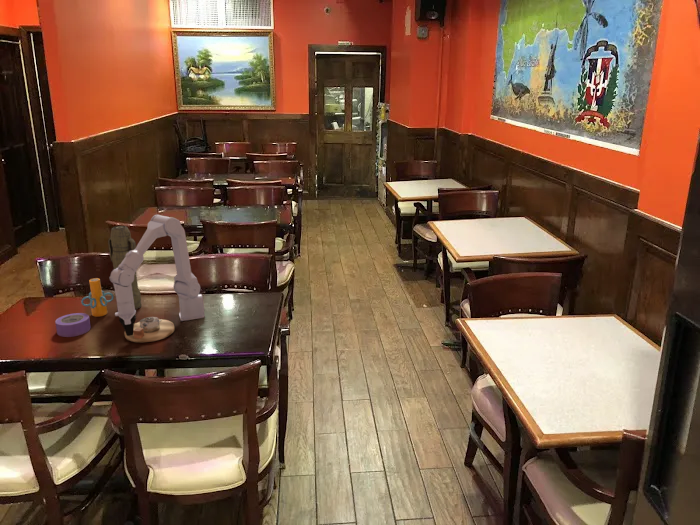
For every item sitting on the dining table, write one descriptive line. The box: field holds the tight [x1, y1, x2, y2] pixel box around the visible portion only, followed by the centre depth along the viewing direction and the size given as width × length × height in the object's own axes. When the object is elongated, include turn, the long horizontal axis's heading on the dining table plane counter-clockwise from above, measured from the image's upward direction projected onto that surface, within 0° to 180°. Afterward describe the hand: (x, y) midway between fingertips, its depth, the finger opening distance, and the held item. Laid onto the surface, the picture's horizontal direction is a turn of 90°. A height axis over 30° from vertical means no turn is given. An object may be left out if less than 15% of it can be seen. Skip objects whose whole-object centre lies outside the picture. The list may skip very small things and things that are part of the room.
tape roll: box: [54, 312, 92, 338], centre depth 217 cm, size 12×12×5 cm
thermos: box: [107, 225, 142, 311], centre depth 234 cm, size 9×12×35 cm
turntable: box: [123, 318, 175, 343], centre depth 214 cm, size 18×18×4 cm
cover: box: [139, 316, 160, 333], centre depth 214 cm, size 7×7×4 cm
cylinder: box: [80, 277, 115, 318], centre depth 230 cm, size 12×10×15 cm
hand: (130, 334), depth 207 cm, fingers closed
